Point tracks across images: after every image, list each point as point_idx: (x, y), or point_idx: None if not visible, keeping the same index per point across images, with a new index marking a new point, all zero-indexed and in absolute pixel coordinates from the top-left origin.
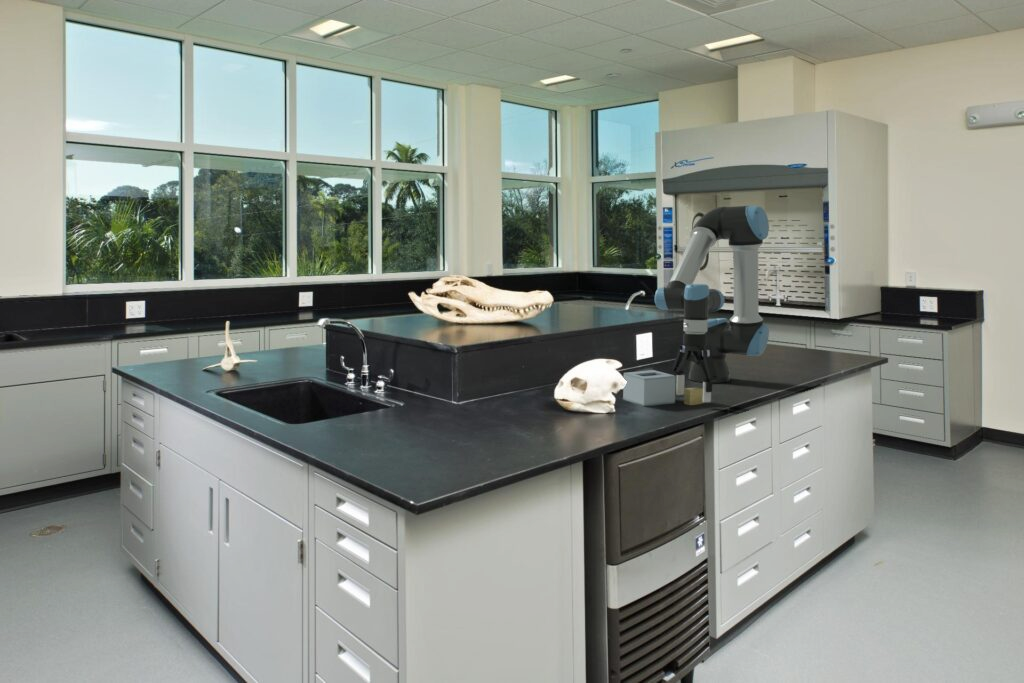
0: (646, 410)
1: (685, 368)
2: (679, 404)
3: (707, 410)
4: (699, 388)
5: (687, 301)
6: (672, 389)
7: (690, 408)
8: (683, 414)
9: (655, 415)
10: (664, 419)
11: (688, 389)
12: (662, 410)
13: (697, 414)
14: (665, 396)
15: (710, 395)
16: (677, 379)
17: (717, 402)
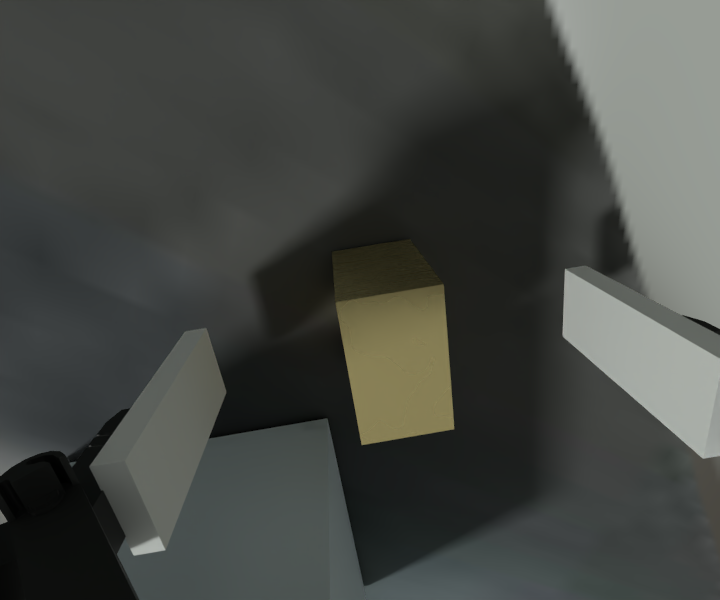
0: (439, 594)
1: (124, 573)
2: None
3: None
4: (417, 313)
5: None
6: (333, 524)
7: (493, 380)
8: (607, 476)
9: (554, 590)
10: (642, 580)
11: (422, 432)
12: (472, 534)
13: None
14: (342, 526)
15: (621, 290)
16: (175, 503)
17: (378, 52)
